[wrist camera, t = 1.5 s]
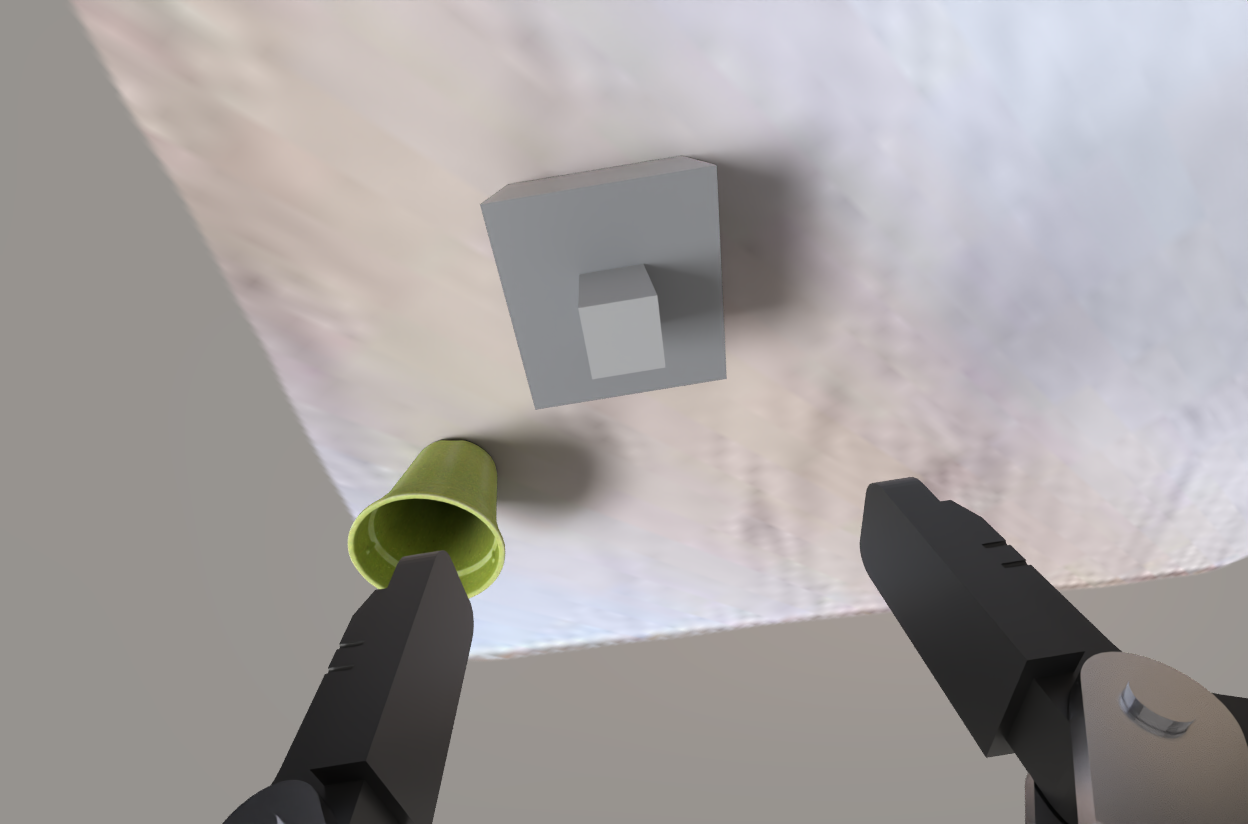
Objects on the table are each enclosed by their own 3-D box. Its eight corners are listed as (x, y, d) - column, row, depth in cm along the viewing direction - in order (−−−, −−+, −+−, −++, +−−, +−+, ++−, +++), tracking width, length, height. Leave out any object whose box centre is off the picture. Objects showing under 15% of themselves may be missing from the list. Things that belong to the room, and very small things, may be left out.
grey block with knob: (681, 155, 29) (751, 174, 17) (694, 322, 34) (754, 428, 22) (507, 184, 29) (453, 223, 17) (546, 346, 34) (526, 465, 22)
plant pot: (544, 468, 39) (535, 549, 31) (470, 535, 42) (445, 624, 34) (443, 394, 35) (406, 467, 28) (369, 474, 38) (316, 559, 31)
